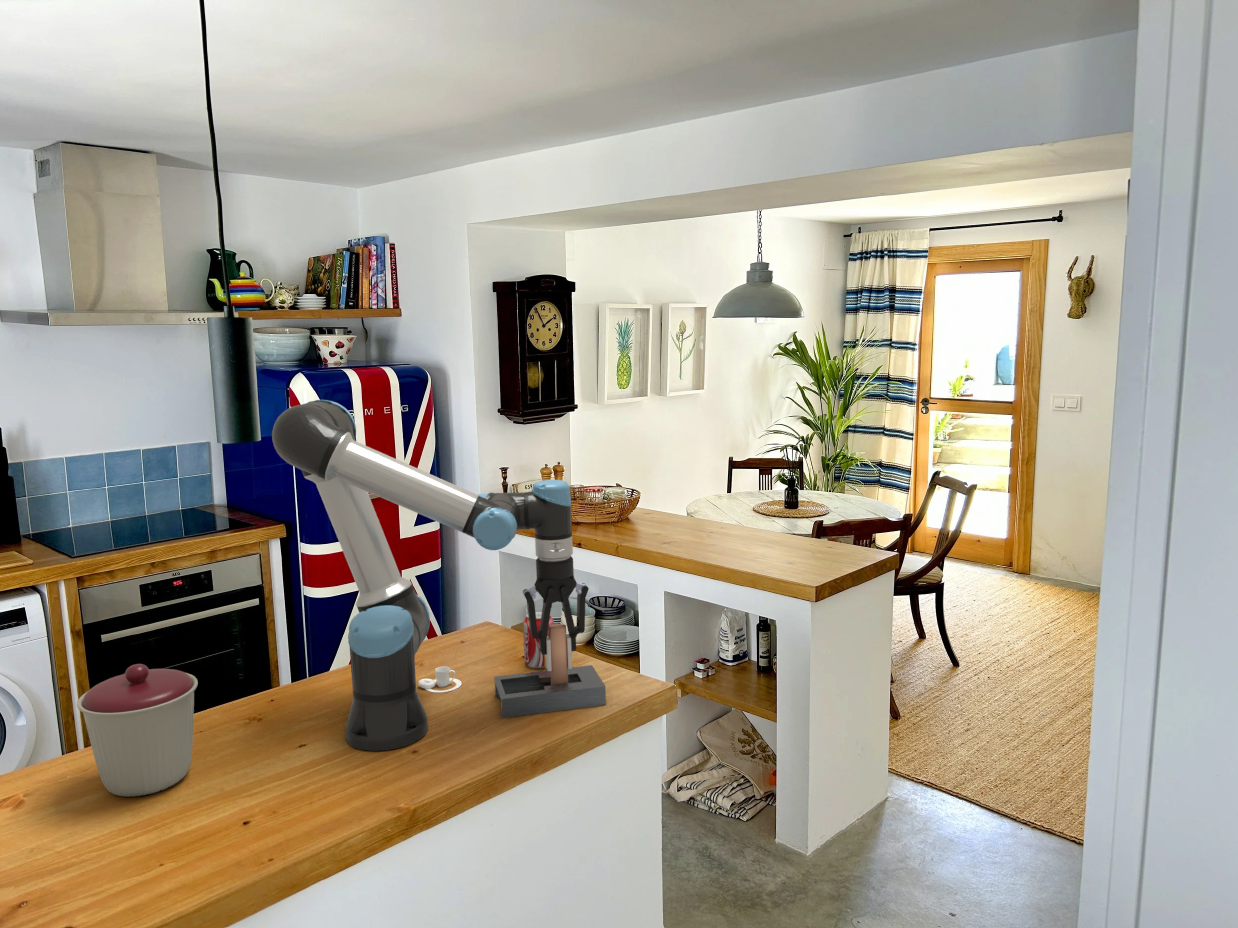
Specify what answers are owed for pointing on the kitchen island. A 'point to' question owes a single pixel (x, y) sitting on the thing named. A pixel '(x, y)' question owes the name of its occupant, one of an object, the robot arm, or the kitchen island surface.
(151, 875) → the kitchen island surface
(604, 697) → the keyhole plate
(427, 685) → the teacup and saucer
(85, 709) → the canister
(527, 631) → the soda can
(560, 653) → the terracotta peg
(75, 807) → the kitchen island surface
